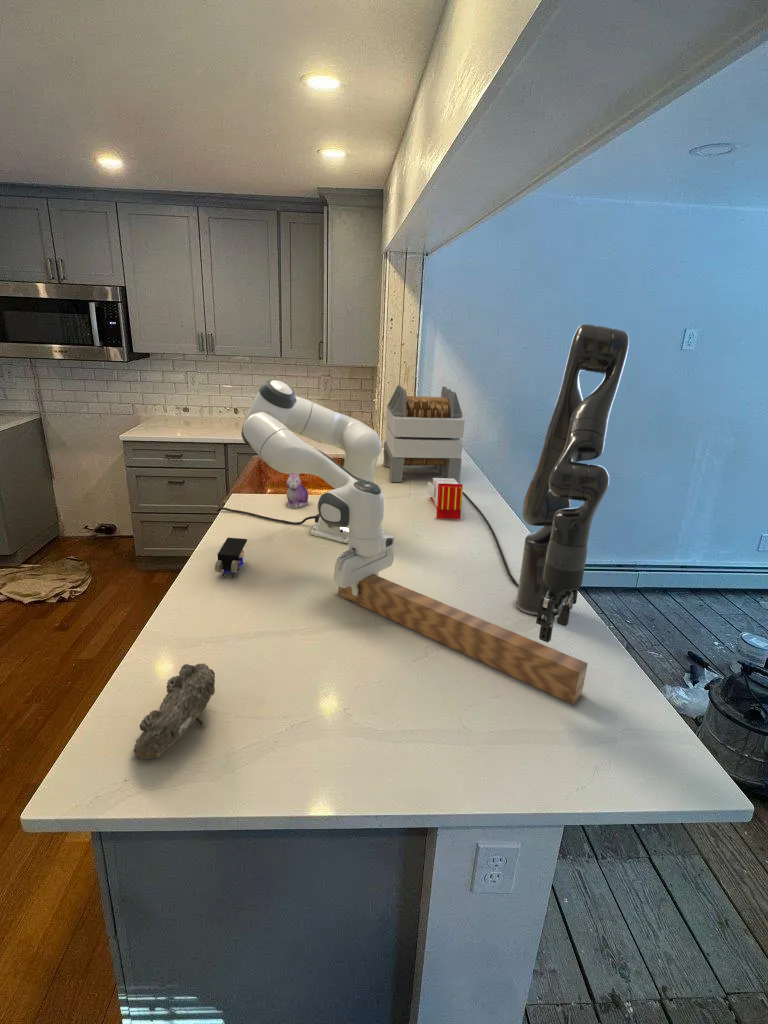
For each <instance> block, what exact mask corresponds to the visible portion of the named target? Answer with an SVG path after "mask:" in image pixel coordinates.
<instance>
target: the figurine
mask: <svg viewBox="0 0 768 1024" xmlns="http://www.w3.org/2000/svg"><path fill="white" fill-rule="evenodd" d="M300 475H301V473H289V474H288V478H287V480H286V486H287V487H288V488H287V492H286V499H287V503H286V505H287V507H288V508H290V509H292V508H293V509H297V508H303V507H305V506H307V505H308V502H309V492H308V489H307V488H306V486H304V485H303V484H302V481H301V478H300Z"/></svg>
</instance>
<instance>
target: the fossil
mask: <svg viewBox="0 0 768 1024" xmlns="http://www.w3.org/2000/svg"><path fill="white" fill-rule="evenodd" d="M215 675H216V673H215V671H214V669H211V668H210V667H209V665H207V664H206V663H196V664H195V665H193V664H189V663H185V664H183V665H182V666H180V670H179V672H178V675H175V676H171V677H170V678H169V679H168V681H167V683H166V684H167V685H166V693H167V694H166V695H165V697H164V698H163V699H162V702H161V703H160V706H159V707H158V708H159V710H157V709H153V710H151V711H150V712H149V713H148V714H146V715H145V716H144V717H143V719H142V720H141V721H140V724H139V725H138V727H139V729H140V731H142V733H141V734H140V736H139V737H138V738H136V740H135V744H134V746H133V747H134V748H133V751H134V755H135V757H139V758H140V759H142V760H147V759H151V758H152V759H153V758H155V757H156V758H159V757H161V756H162V755H163V754H164V753H165V752H166V751H167V750H168V749H169V748H171V747H172V746H173V745H174V744H175V742H177V741H178V740H179V739H180V738H181V737H182V736H183V735H185V733H186V732H187V730H188V728H189V727H190V726H191V725H192V724H193V723H194V722H197V723H198V724H199V725H200V726H201V725H203V724H204V722H203V721H202V720H201V719H200V718H199V717H198V716H199V714H202V713H203V711H205V709H206V708H207V705H208V704H209V702H210V700H211V697H212V696H213V695H215V692H216V688H215V683H216V679H215V678H216V676H215Z"/></svg>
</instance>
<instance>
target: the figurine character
mask: <svg viewBox="0 0 768 1024" xmlns="http://www.w3.org/2000/svg"><path fill="white" fill-rule="evenodd" d="M247 542H248V538H240V537H226V539H225V541H224V543H223V544H222V546H221V547H220V549H219V551H218V552H217V560H216V562H215V564H214V572H215V573H221V577H222V578H224V577H225V576H226V574H227V573H230V574H231V573H232V574H231V578H234V577H235V575H236V573H237V572H239V571H240V567H242V566H243V565H244V564H245V562H244V558H245V551H244V547H245V546H246V544H247Z"/></svg>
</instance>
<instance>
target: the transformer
mask: <svg viewBox="0 0 768 1024" xmlns="http://www.w3.org/2000/svg"><path fill="white" fill-rule="evenodd" d="M440 393H441V394H440V396H415V395H414V396H413V395H412V396H411V395H407V394H408V393H407V390H406V389H404V388H403V387H402V385H399V384H398V385H397V386H396V388H395V390H394V392H393V394H392V395H391V398H390V400H389V402H388V404H387V405H386V413H385V414H386V415H385V423H386V428H385V438H384V442H383V466H384V467H388V468H389V475H388V476H389V477H388V478H389V480H390V482H391V483H402V482H403V475H404V469H405V466H406V467H407V466H411V467H412V466H413V467H415V466H416V467H417V466H418V467H436V468H437V470H438V469H439V473H440V474H441V475H443V478H454V479H455V480H456V481H457V482H458V483H459V484H460V483H461V472H462V461H463V460H462V453H463V442H464V441H463V440H462V439H463V438H464V431H465V430H464V429H465V419H464V418H463V411H462V408H461V405H460V402H459V398H458V395H457V392H455V391H453V390H452V389H451V388H447V386H442V387H441V392H440Z"/></svg>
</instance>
